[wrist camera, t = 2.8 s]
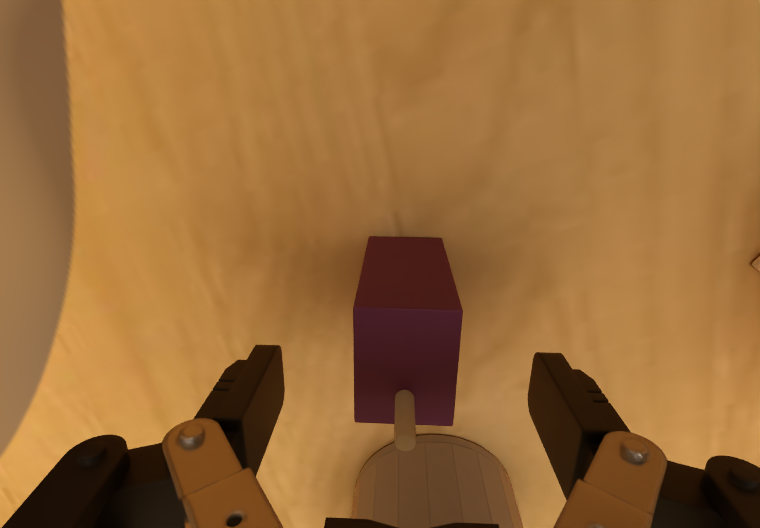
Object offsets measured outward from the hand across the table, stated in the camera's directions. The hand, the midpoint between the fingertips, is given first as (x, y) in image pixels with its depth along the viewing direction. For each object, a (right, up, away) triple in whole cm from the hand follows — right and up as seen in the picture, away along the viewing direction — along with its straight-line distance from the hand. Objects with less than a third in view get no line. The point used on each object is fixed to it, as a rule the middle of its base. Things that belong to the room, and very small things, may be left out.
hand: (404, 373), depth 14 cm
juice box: (0, +3, +6) cm, 7 cm away
